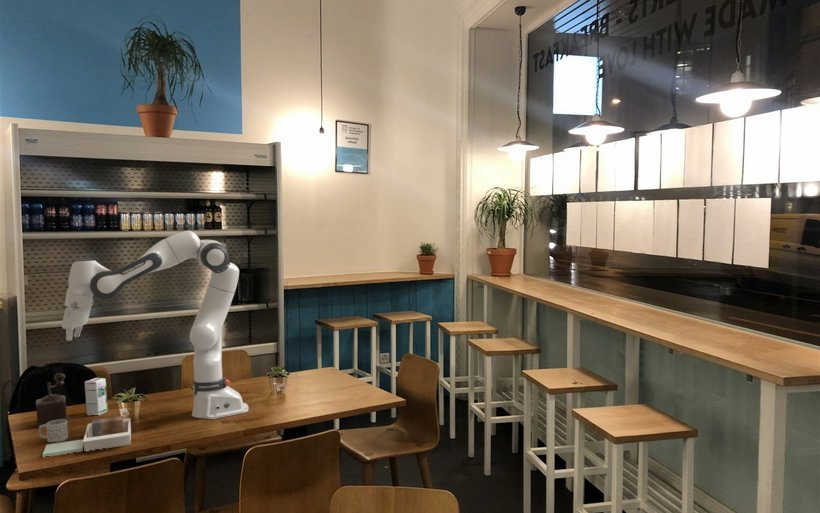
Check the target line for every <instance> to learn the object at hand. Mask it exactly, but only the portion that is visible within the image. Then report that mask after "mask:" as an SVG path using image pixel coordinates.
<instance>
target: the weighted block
mask: <svg viewBox="0 0 820 513" xmlns="http://www.w3.org/2000/svg"><path fill="white" fill-rule="evenodd" d="M123 419H124V416H123V415H118V416H112V417H105V418H98V419H92V420H91V421H92V422H91V423H92V437H97V436H104V435H111V434H118V433H124V427H123Z"/></svg>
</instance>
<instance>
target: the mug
mask: <svg viewBox="0 0 820 513" xmlns="http://www.w3.org/2000/svg"><path fill="white" fill-rule="evenodd" d="M43 428H45V429H46V434H43ZM38 435H39V437H40V438H42V439H45V440H46V441H47V443H49V442H56V443H61V442H65V441H67V440H68V439H69V431H68V421H67V420H66V419H58V420H53V421H50V422H47V423H46V424H44V425H41V426H39V428H38ZM67 438H68V439H67ZM66 439H67V440H66ZM60 441H61V442H60Z"/></svg>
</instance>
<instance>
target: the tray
mask: <svg viewBox="0 0 820 513" xmlns="http://www.w3.org/2000/svg"><path fill="white" fill-rule="evenodd" d="M131 424H132V423H131V417H129V418H128V417H127V418H123V427H124V433H118V434H111V435H104V436H97V437H92V422H91V423H87V425H86V429H85V432H84V436H83V439H84V440H83V443H84V447H83V450H84V451H86V452H91V451H90V450H92V451H96V450H95V449H99V450H104V449H103V448H105V449H110V448H117V447H123V446H130V445H131V440H132V439H131V438H132V427H131V426H132V425H131Z"/></svg>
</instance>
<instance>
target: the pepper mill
mask: <svg viewBox="0 0 820 513" xmlns="http://www.w3.org/2000/svg"><path fill="white" fill-rule="evenodd" d="M65 378H66V374H65V373H61V372H59V373H56V374H55V375H54V379H55V381H56V384H55V385H52V382H50V381H49V382H47V390H48V395H46V396H44V397H42V398H39V399H36V400H35V401H36V402H35V409H36V423H37V425H38V426H37V429H39V426H41V425H44V424H46V423H47V422H50V421H53V420H58V419H66V420H67V422H69V421H68V420H69V418H70V417H69V416H67V415H68V414H67V406H66V405H67V404H66V402H67V401H66V395H64V394H62V395H61V393H59V394H56V393H53V394H52V389H53V388H56V387H58V386H60V387H61V386H62V385H64V384H65V382H64V380H65Z"/></svg>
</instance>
